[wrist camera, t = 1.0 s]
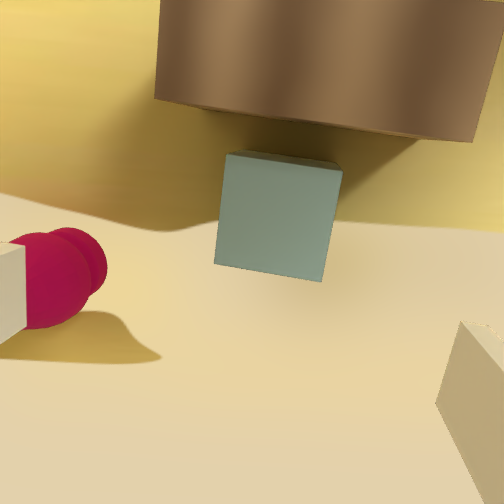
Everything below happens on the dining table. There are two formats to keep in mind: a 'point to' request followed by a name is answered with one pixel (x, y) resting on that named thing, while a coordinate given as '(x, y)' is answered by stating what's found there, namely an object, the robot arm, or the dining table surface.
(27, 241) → the pepper mill
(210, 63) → the walnut box
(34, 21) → the dining table surface
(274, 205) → the letter cube
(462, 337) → the robot arm
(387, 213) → the dining table surface
